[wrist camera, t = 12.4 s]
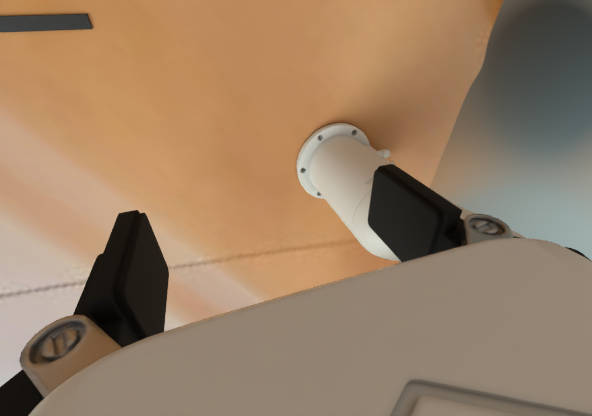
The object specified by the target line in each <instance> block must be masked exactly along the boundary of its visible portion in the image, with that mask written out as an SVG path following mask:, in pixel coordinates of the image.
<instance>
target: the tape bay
mask: <svg viewBox="0 0 592 416" xmlns="http://www.w3.org/2000/svg"><path fill="white" fill-rule="evenodd" d="M77 29H92V26H91V23H90V21H89V18H88V15H87V14H74V15H33V16H0V32H21V31H49V30H77Z"/></svg>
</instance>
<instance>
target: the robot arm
mask: <svg viewBox="0 0 592 416" xmlns="http://www.w3.org/2000/svg"><path fill="white" fill-rule="evenodd" d="M319 135H320V136H319ZM318 136H319V137H318ZM389 157H390V151H389V150H388V149H385V150H380V151H376V150H375V149H373V148H372V147H370V143H369V141H368V138H367V137H366V135H365V134H364V133H363V132H362V131H361V130H359V129H358V128H356V127H355V126H353V125H350V124H347V123H334V124H330V125H327V126H324V127H322V128H321V129H319V130H317V131H316V132H315V133H313V134H312V135H311V136H310V137H309V138H308V139H307V141H306V142H305V143H304V145H303V146H302V148H301V150H300V153H299V155H298V159H297V175H298V179H299V181H300V183H301V185H302V186H303V188H304V189H305V190H306V191H307V192H308V193H309V194H311V195H312V196H315V197H317V198H322V199H325V200H326V201H327V202H328V203H329V205H330V206H331V207H332V208H333V210H334V211H335V212H336V213H337V215H338V216H339V217H340V218H341V220H342V221H343V222H344V223H345V225H346V226H347V227H348V228H349V230H350V231H351V232H352V233H353V235H354V236H355V237H356V239H357V240H358V241H359V242H360V243H361V245H362V246H363V247H364V248H365V249H366V250H368V251H369V252H370V253H372V254H374V255H376V256H378V257H381V258H384V259H388V260H394V261H401V262H402V263H398V264H395V265H391V266H388V267H384V268H380V269H377V270H373V271H370V272H366V273H363V274H359V275H356V276H352V277H349V278H345V279H341V280H338V281H334V282H331V283H327V284H324V285H320V286H317V287H313V288H310V289H306V290H303V291H299V292H296V293H292V294H289V295H286V296H282V297H279V298H275V299H272V300H268V301H265V302H261V303H258V304H254V305H251V306H248V307H244V308H241V309H237V310H234V311H230V312H227V313H223V314H220V315H217V316H213V317H210V318H207V319H203V320H200V321H196V322H193V323H190V324H187V325H184V326H181V327H178V328H175V329H172V330H168V331H165V332H164V324H165V312H166V301H167V289H168V278H169V272H168V267H167V264H166V262H165V259H164V257H163V254H162V252H161V250H160V247H159V245H158V242H157V240H156V237H155V235H154V232H153V230H152V228H151V225H150V223H149V220H148V218H147V216H146V214H145V213H141V214H140V212H139V211H138V210H135V211H129V212H124V213H119V215H118V217H117V219H116V222H115V225H114V227H113V230H112V232H111V235H110V237H109V240H108V242H107V245H106V248H105V250H104V253H103V254H100V255H98V257H97V258H96V261H95V263H94V265H93V268H92V270H91V273H90V275H89V278H88V280H87V282H86V285H85V287H84V290H83V292H82V295H81V297H80V299H79V302H78V304H77V307H76V309H75V312H74V314H73V315H72V316H67V317H64V318H61V319H59V320H56V321H54V322H53V323H51V324H49V325H47V326H46V327H44V328H43V329H42V330H40V331H39V332H38V333H37V334H35V335H34V336H33V337H32V339H31V340H30V341H29V342H28V343H27V344H26V346H25V347H24V349H23V351H22V352H21V356H20V364H21V367H22V369H23V370H21V371H20V372H19V373H18V374H16V375H15V376H14V377H13V378H11V379H10V380H9V381H7V382H6V383H5V384H4V385H2V386H1V387H0V416H592V261H591V260H590V259H588V258H587V257H586V256H585V255H583V254H582V253H581V252H579V251H577V250H575V249H572V248H567V247H563V246H560V245H558V244H555V243H553V242H549V241H543V240H538V239H529V238H525V237H524V236H522V235H520V234H518V233H516V232H514V231H512V230H511V229H510V228H509V226H508V225H507V224H506V223H504V222H503V221H501V220H499V219H497V218H494V217H492V216H489V215H484V214H475V213H473V212H470V211H468V210H466V209H464V208H462V207H460V206H458V205H456V204H454V203H452V202H451V201H449V200H447V199H446V198H444V197H442V196H441V195H439V194H437V193H436V192H434V191H432V190H431V189H430V188H428V187H427V186H425V185H424V184H422V183H421V182H419V181H418V180H416V179H415V178H413V177H412V176H410V175H409V174H407V173H406V172H404V171H403V170H401V169H400V168H398V167H397V166H395V164H394V162H393V161H387V160H385V159H384V158H389Z"/></svg>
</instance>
